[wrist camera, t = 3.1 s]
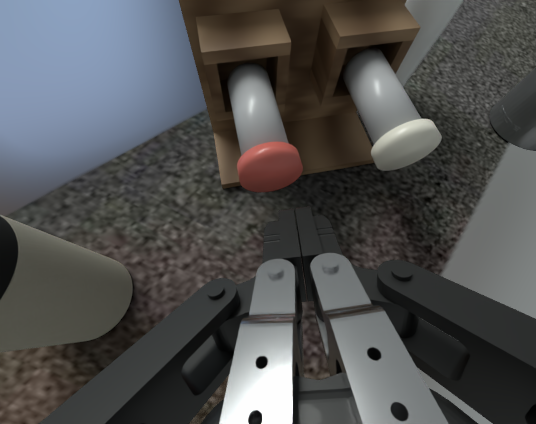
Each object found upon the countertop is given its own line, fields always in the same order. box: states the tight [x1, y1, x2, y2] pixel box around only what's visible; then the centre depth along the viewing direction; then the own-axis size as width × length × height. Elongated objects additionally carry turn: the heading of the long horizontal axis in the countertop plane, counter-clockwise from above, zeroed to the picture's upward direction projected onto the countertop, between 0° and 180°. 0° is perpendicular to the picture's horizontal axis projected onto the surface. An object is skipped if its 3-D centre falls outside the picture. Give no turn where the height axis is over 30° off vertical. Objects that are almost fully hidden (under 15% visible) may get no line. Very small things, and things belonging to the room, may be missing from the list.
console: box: [179, 0, 421, 189], centre depth 25 cm, size 20×10×18 cm, turn 102°
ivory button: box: [343, 48, 442, 171], centre depth 21 cm, size 5×10×5 cm, turn 12°
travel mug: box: [0, 215, 133, 352], centre depth 17 cm, size 8×8×18 cm
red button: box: [227, 63, 303, 192], centre depth 20 cm, size 5×10×5 cm, turn 12°
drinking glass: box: [395, 0, 464, 87], centre depth 31 cm, size 7×7×15 cm
